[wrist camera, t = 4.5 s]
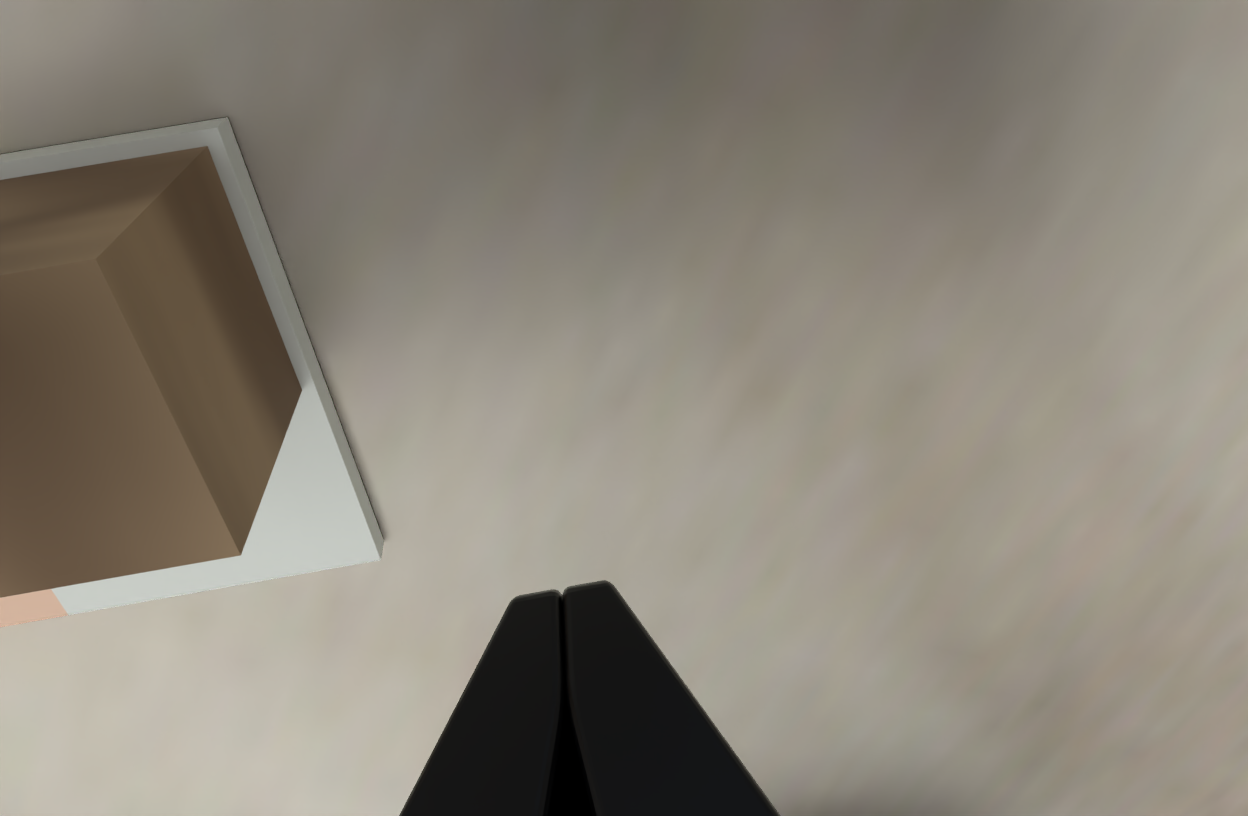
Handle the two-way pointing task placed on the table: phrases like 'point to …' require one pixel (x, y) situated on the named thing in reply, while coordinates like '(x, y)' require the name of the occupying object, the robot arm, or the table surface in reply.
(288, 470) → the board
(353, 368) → the table surface
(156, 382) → the walnut cube
